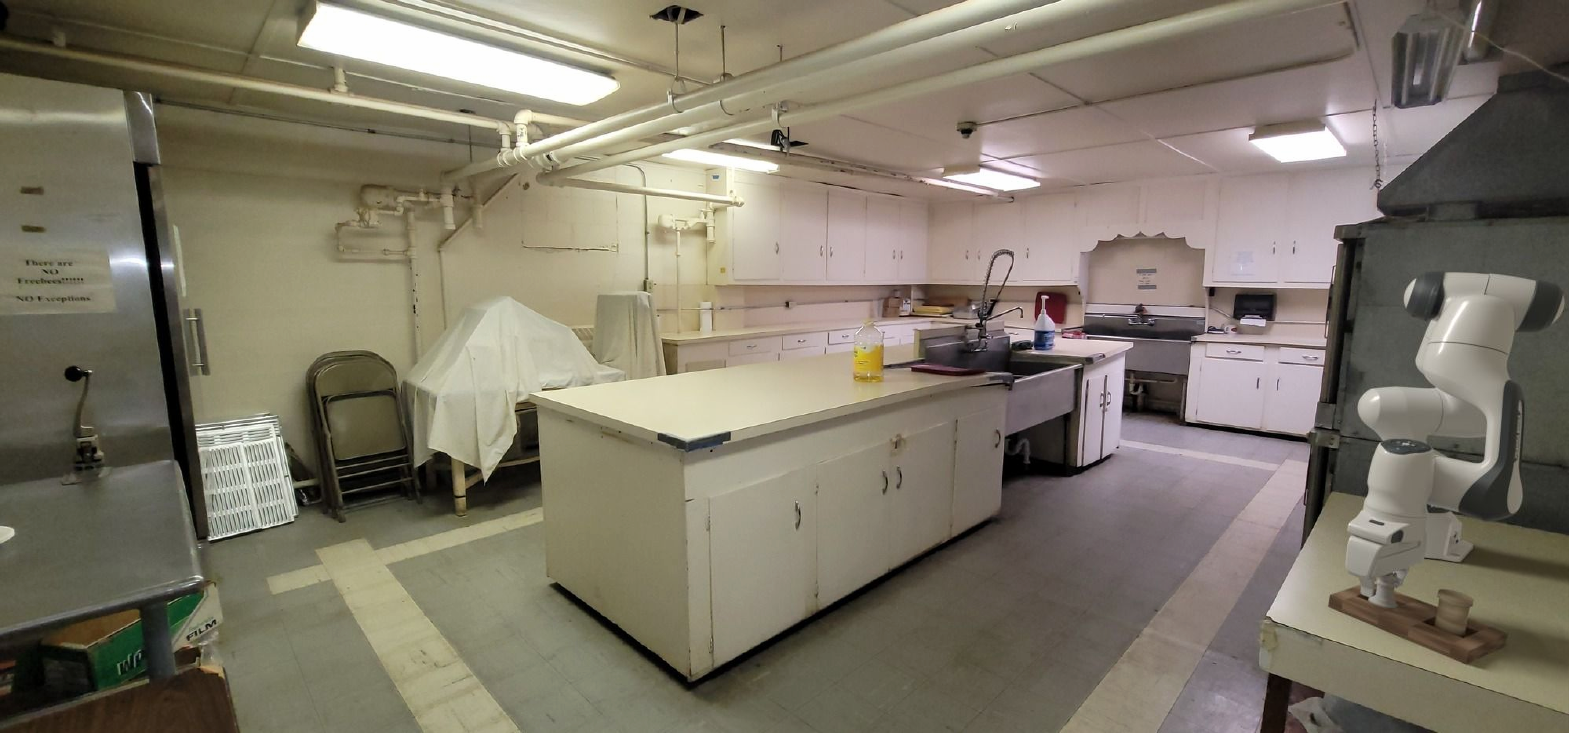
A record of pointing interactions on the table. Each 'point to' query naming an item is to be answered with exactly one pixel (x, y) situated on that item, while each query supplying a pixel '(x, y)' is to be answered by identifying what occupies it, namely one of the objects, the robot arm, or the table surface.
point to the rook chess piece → (1385, 591)
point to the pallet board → (1426, 622)
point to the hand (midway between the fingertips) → (1381, 590)
